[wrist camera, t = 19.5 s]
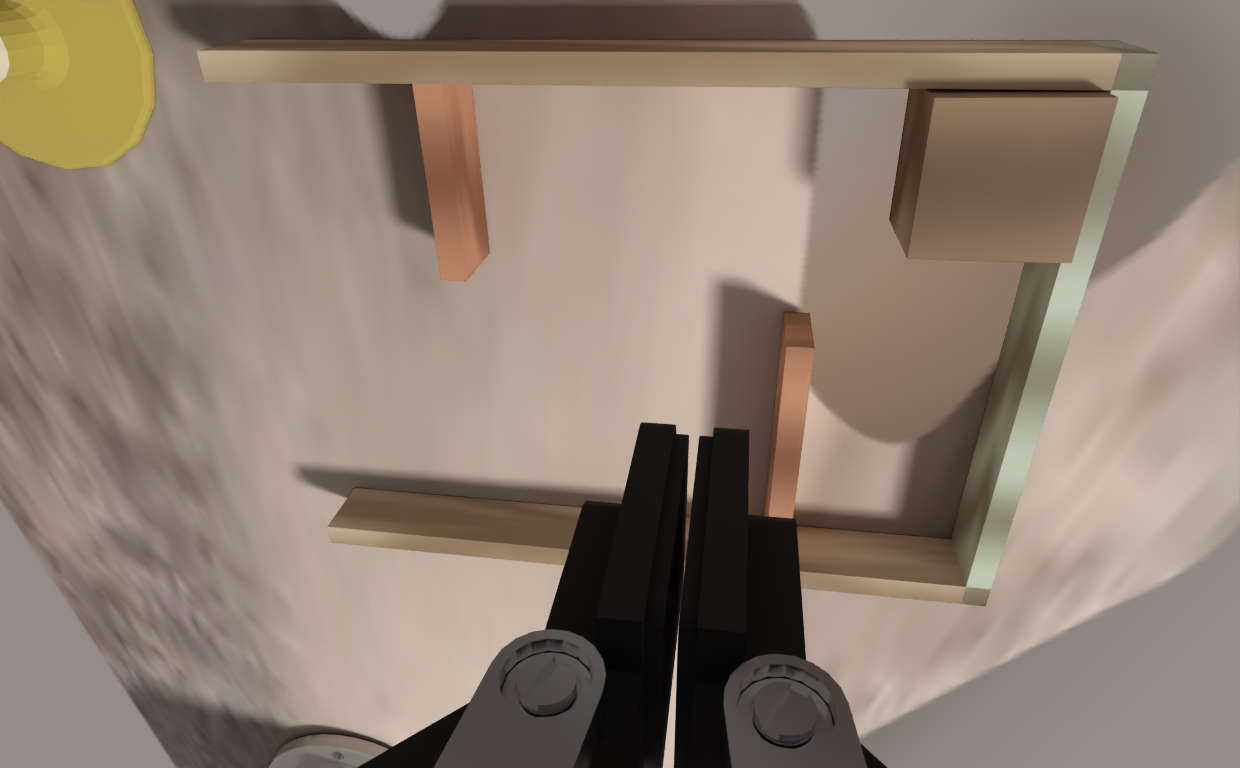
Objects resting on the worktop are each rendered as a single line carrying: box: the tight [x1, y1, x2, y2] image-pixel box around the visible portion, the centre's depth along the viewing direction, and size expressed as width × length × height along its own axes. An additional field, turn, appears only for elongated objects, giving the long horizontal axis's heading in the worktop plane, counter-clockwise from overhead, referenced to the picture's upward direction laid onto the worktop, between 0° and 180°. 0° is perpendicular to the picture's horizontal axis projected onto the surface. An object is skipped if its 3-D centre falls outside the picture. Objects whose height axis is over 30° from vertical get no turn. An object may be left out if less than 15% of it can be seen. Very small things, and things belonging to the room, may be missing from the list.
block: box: [889, 89, 1119, 263], centre depth 25 cm, size 5×5×4 cm
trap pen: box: [197, 39, 1160, 606], centre depth 31 cm, size 22×30×3 cm
